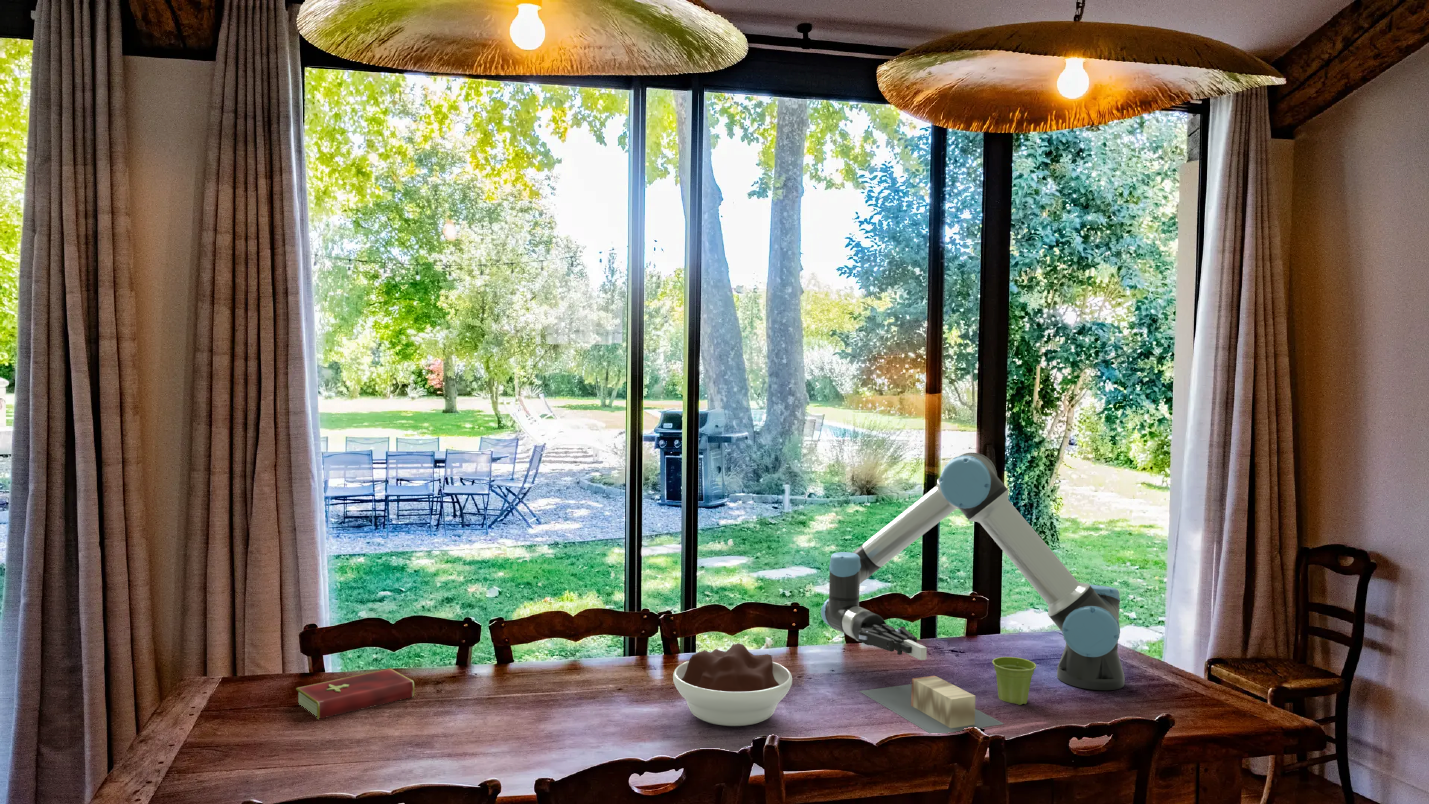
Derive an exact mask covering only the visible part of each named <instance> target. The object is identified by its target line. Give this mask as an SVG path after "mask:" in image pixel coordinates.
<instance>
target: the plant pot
mask: <svg viewBox="0 0 1429 804" xmlns="http://www.w3.org/2000/svg"><path fill="white" fill-rule="evenodd" d="M991 662H992V664H993V666H994V671H995V676H996V684H997V695H998V696H997V697H998V699H999V700H1001V701H1002V702H1006V703H1010V704H1016V705H1019V706H1022V705H1023V704H1024V705H1026V704H1027V703H1028V699H1029V693H1030V688H1031V682H1032V677H1033V675H1034V672H1035V670H1036V668H1037V664H1036V663H1035V662H1033V661H1031V660H1029V659H1025V658H1021V657H1014V656H1012V657H1011V656H999V657H996V658H994V659H992V661H991Z"/></svg>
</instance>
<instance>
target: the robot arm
mask: <svg viewBox="0 0 1429 804" xmlns="http://www.w3.org/2000/svg"><path fill="white" fill-rule="evenodd" d="M1009 490H1010V489H1008V487H1006V485H1005V484H1004V483H1003V481H1002V480H1001V479H1000V478H999V477H998V472H997V470H996V467H995V465H994V463H993V462H992V460H991V459H989V458H988V456H985V455H984V454H981V453H978V452H966V453H962V454H960V455H959V456H955V457H954V458H952V459H950V460H949V461H948V463H946V464H945V465H944V467H943V469H942V470H941V473H940V476H939V478H937V480H936V485H935V486H934V487H933V488H931V489H930V490H929V491H928V492H926V493H924V495H922V496H921V497H920V498H918V499H917V500H916V501H915V502H913V503H912V504H911V505H910V506H909V507H907V508H906V509H904V511H902V513H899V515H897V516H896V517H895V518H894V519H892V520H891V521H890V522H888V524H886V525H885V526H884V527H883V528H881V529H880V530H879V531H878V532H876V533H875V534H874V535H872V536H871V537H870V538H869V539H868V540H866V541H865V542H863V544H861V545H860V546H858V547H857V548H856V549H854V551H852V552H850V551H839V552H834V553H832V554H831V556H830V560H829V567H828V569H829V584H828V585H829V587H828V589H829V590H828V592H829V593H828V598H827V599H826V600H825V601H824V602H823V604H822V606H821V608H820V616H821V619H822V620H823V622H824V623H825V624H826V625H828V626H829V627H830V628H832V629H833V630H836V631H839V632H840V633H843V634H844V635H847V636H848V637H850V638H852V639H854V640H855V641H856V642H858V643H861V644H864V645H867V646H873V647H876V648H879V649H882V650H885V651H888V652H894V651H897V652H896V654H897V656H898V655H900V656H902V655H903V653H904V654H907V655H909V656H911V657H913V658H915V659H917V660H919V661H926V660H927V654H928V653H927V650H928V649H927V648H928V647H926V646H925V645H923V644H920V643H919V642H918V637H917V636H915V635H914V634H913V633H912V632H910V631H908V630H907V629H906V627H905V626H900V627H898V629H895V628H894V627H893V626H891V625H889V624H887V623H886V622H885V619H884V618H883V617H882V616H881V615H879V614H877V613H874V612H872V611H870V610H868V609H866V608H864V607H861V606H860V587H861V584H862V583H863V582H864V581H867V580H868V578H870V577H871V576H872V575H873V574H874V573H876V572H877V571H878V570H880V569H881V568H883V566H885V565H886V564H887V563H888V562H890V561H891V560H892V559H893V558H895V557H896V556H897V555H899V554H900V553H902V551H904V550H906V548H908V547H909V546H910V545H912V544H913V543H915V542H916V541H917V540H919V538H920V537H922V536H924V535H925V534H926V533H927V532H929V531H930V530H931V529H932V528H934V527H935V526H936V525H938V524H939V522H941V521H942V520H944V519H946V517H948V516H949V515H950V514H952V513H953V512H954V511H955V510H960V512H961V513H963V515H964V516H965V517H966V519H968V521H969V522H977V523H978V524H980V525H981V526H982V528H983V529H984V530H985V532H987V534H988V535H989V536H990V537H991V538H992V539H993V541H994V543H996V545H997V546H998V547H999V548H1000V550H1002V551H1003V553H1004V554H1005V556H1007V557H1008V559H1009V560H1010V561H1011V562H1012V564H1013V565H1014V566H1015V567H1016V568H1017V569H1018V571H1019V572H1020V573H1021V574H1022V575H1023V577H1024V578H1025V579H1026V580H1027V582H1028V583H1029V584H1030V585H1031V586H1032V587H1033V589H1034V590H1035V591H1036V592H1037V594H1039V596H1040V597H1041V598H1042V599H1043V601H1044V602H1045V603H1046V605H1047V606H1048V607H1047V608H1048V611H1047V616H1048V617H1049V618H1050V619H1051V621H1053V623H1054V624H1055V625H1056V626H1057V628H1058V629H1059V631H1061V633H1062V637H1063V639H1064V641H1065V647H1064V650H1063V652H1062V654H1061V656H1060V660H1059V662H1058V664H1057V667H1056V668H1057V669H1056V677H1057V679H1058V680H1059V681H1061V682H1062V683H1065V684H1068V685H1069V686H1071V687H1072V686H1073V687H1077V688H1081V689H1086V690H1094V691H1112V690H1113V691H1114V690H1119V689H1122V688H1123V687H1124V686H1125V673H1124V669H1123V666H1122V662H1121V659H1120V655H1119V651H1118V650H1119V649H1118V646H1119V639H1120V634H1121V629H1120V603H1121V598H1120V597H1121V596H1120V591H1119V589H1117V588H1116V587H1113V586H1112V587H1111V586H1106V585H1098V584H1097V585H1096V584H1090V583H1084V582H1080V581H1078V580H1077V579H1076V578H1075V576H1074V575H1073V574H1072V572H1070V571H1069V570H1068V568H1067V567H1066V566H1065V565H1064V563H1063V562H1062V561H1061V560H1060V559H1059V558H1058V557H1057V555H1056V554H1055V552H1053V551H1052V549H1051V548H1050V546H1048V544H1046V542H1045V541H1044V540H1043V539H1042V538H1041V536H1040V535H1039V534H1038V533H1037V532H1036V530H1034V528H1033V527H1032V526H1031V524H1030V523H1029V522H1028V521H1027V520H1026V518H1024V517H1023V515H1022V514H1021V513H1020V512H1019V510H1017V508H1016V507H1015V506H1014V505H1013V504H1012V503H1011V501H1010V500H1009Z"/></svg>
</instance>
